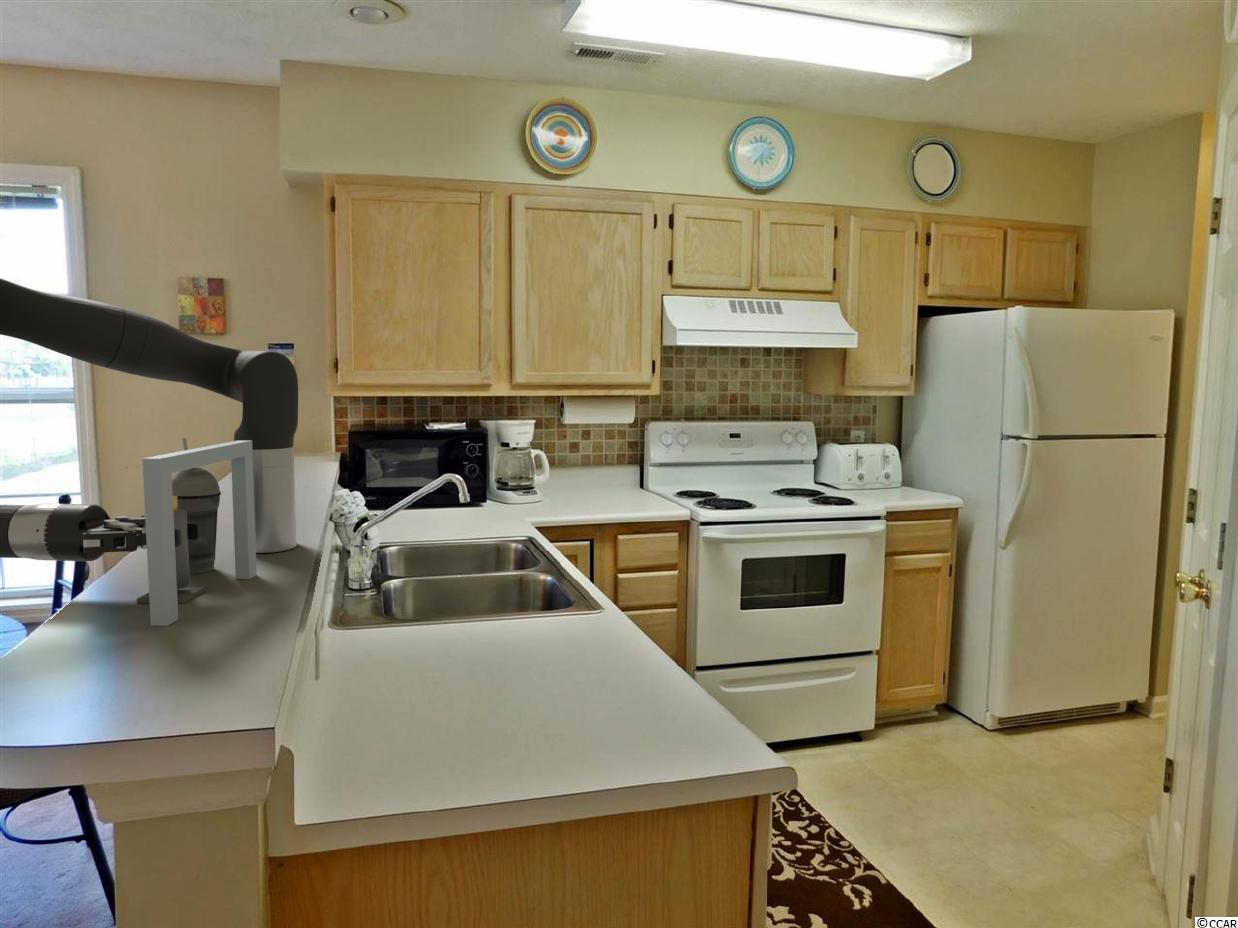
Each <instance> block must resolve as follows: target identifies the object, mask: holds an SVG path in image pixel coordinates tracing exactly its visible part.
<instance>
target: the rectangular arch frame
mask: <svg viewBox="0 0 1238 928" xmlns="http://www.w3.org/2000/svg"><path fill="white" fill-rule="evenodd" d="M229 460H230V463H231V489H232V490H231V491H232V494H231V495H232V513H233V514H232V515H233V516H232V517H233V540H234V541H233V542H234V543H233V544H234V570H235V573H234V574H235V580H251V579H252V578H254V577H256V576H257V571H258V569H257V553H256V539H255V510H254V482H253V453H252V441H247V440H238V441H234V440H233V441H232V440H231V441H227V442H222V443H218V444H212V445H207V446H202V447H196V448H191V449H188V450H185V451H184V450H180V451H175V452H170V453H165V454H164V453H163V454H159V455H155V456H147V457H143V458H142V475H143V476H142V479H143V494H144V496H143V497H144V498H143V501H144V515H145V521H146V541H147V549H146V557H147V558H146V559H147V571H148V572H147V575H148V576H147V577H148V593H149V601H150V603H149V615H150V620H149V621H150V627H151V626H153V627H154V626H158V627H160V626H163V627H167V626H170V625H171V624H173V623H175V622H177V621H178V620H179V605H178V604H179V603H178V601H177V579H176V557H175V536H174V514H173V492H172V479H173V476H172V475H173V474H174V473H179V472H180V471H183V470H187V469H192V468H201V467H204V466H208V465H213V464H217V463H221V462H225V461H229Z"/></svg>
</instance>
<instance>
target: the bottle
mask: <svg viewBox="0 0 1238 928" xmlns="http://www.w3.org/2000/svg"><path fill="white" fill-rule="evenodd" d="M173 514H174V529H176V530H180V531H181V541H182V543H181V545H180V546H178V547H175V557H176V579H177V589H181V588H185V587H190V585H191V583H190V582H191V581H190V578H191V577H190V574H189V553H188V529H187V511H186V510H182V509H178V503H177V496H173Z"/></svg>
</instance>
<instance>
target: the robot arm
mask: <svg viewBox="0 0 1238 928" xmlns="http://www.w3.org/2000/svg"><path fill="white" fill-rule="evenodd" d="M0 335H1V336H6V337H10V338H14V339H18V340H22V341H25V342H29V343H31V344H33V345H34V344H35V345H36V346H38V347H42V348H45V349H48V350H49V351H52V352H56V353H58V354H62V355H63V356H67V357H70V358H72V359H76V360H78V361H82V362H85V363H88V364H91V365H95V366H99V367H102V368H105V369H110V370H114V371H117V372H120V373H121V372H122V373H125V374H130V375H134V376H139V377H143V378H144V377H145V378H150V379H156V380H161V381H167V382H168V381H169V382H176V383H181V384H187V385H191V386H196V387H199V388H201V389H204V390H208V391H210V392H213V393H216V394H218V395H221V396H224V397H227V398H228V399H232V400H234V401H237V402H238V403H242V416H241V417H242V418H241V423H240V424H239V426H238V428H237V429H236V430H235V431H234V434H233V441H238V440H247V441H252V453H253V482H254V510H255V539H256V554H263V553H264V554H265V553H276V552H283V551H288V550H291V549H295V548H296V547H297V517H296V516H297V513H296V511H297V510H296V480H295V479H296V478H295V476H296V475H295V471H296V470H295V449H294V446H295V445H294V444H295V443H294V442H295V441H294V439H295V435H296V433H297V428H298V424H299V382H298V381H299V379H298V378H299V377H298V375H297V371H296V368H295V365H294V364H293V362H292V361H291V360H290V359H289V357H287V356H286V355H285V354H283V353H281V352H279V351H274V350H246V349H239V348H238V349H237V348H233V347H228V346H224V345H223V346H222V345H218V344H215V343H210V342H207V341H204V340H201V339H198V338H196V337H193V336H191V335H189V334H188V333H186V332H184V331H182V330H181V329H178V328H177V327H174V326H173V325H171V324H169V323H167V322H165V321H162V320H160V319H158V318H155V317H153V316H150V315H147V314H143V313H141V312H137V311H134V310H130V309H127V308H124V307H121V306H117V305H114V304H110V303H106V302H103V301H97V300H93V299H88V298H81V297H78V296H76V297H75V296H71V295H66V294H65V295H63V294H58V293H52V292H47V291H41V290H37V289H33V288H30V287H27V286H23V285H21V284H18V283H15V282H13V281H10V280H7V279H4V278H1V277H0ZM187 529H188V539H189V540H195V539H198V538H200V524H199V523H188V522H187ZM174 536H175V547H178V546H180V545H181V543H182V541H181V531H180V530H176V529H174ZM138 549H141V550H147V541H146V521H145V514H141V515H139V516H137V517H132V516H129V515H123V516H120V515H119V516H115V517H114V519H112V518H111V517H110V516H109V514H108V512H107V511H106V509H104V507H102V506H100V505H99V504H95V503H94V504H89V503H88V504H85V503H82V504H81V503H79V504H78V503H39V504H0V558H2V559H5V558H6V559H30V560H34V561H35V560H36V561H51V562H52V561H54V562H55V561H59V562H93V561H96V560H98V559H100V558H101V557H102V556H103V555H104V554H105V553H119V552H120V553H123V552H124V553H127V552H129V553H131V552H133V553H134V552H136V551H138Z"/></svg>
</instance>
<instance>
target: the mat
mask: <svg viewBox="0 0 1238 928" xmlns="http://www.w3.org/2000/svg"><path fill="white" fill-rule="evenodd" d="M203 593H206V586H187V587H185V588H181V589H177V601H178V604H185V603H187V602H189V601H190V600H192V599H194V598H196V597H198V596H200V595H201V594H203ZM137 603H138V604H150V601H149V592H147V593H144V594H142V595H140V596H139V597H137V598H136V604H137Z"/></svg>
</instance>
